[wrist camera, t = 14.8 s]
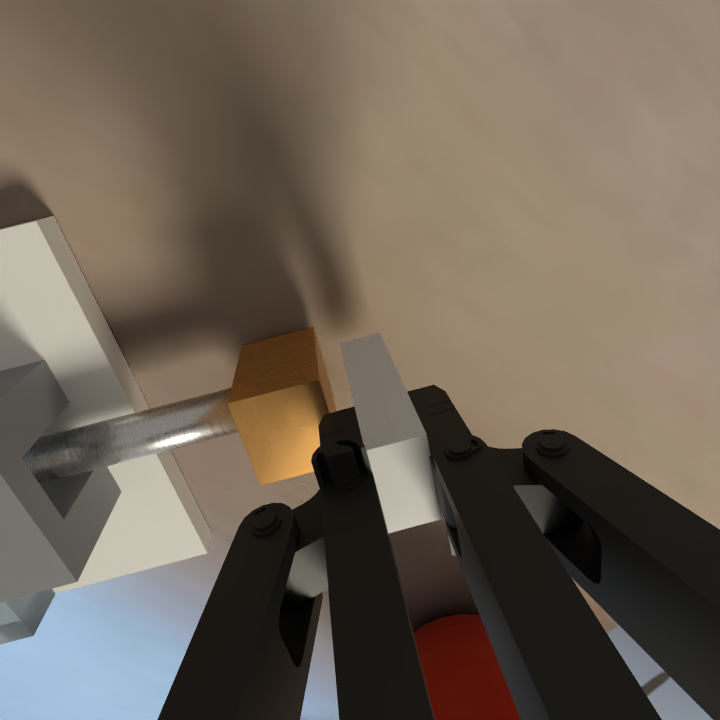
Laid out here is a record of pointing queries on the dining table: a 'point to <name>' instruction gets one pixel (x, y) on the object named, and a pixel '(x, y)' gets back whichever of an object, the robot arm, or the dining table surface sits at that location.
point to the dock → (64, 412)
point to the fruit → (463, 670)
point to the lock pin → (214, 418)
